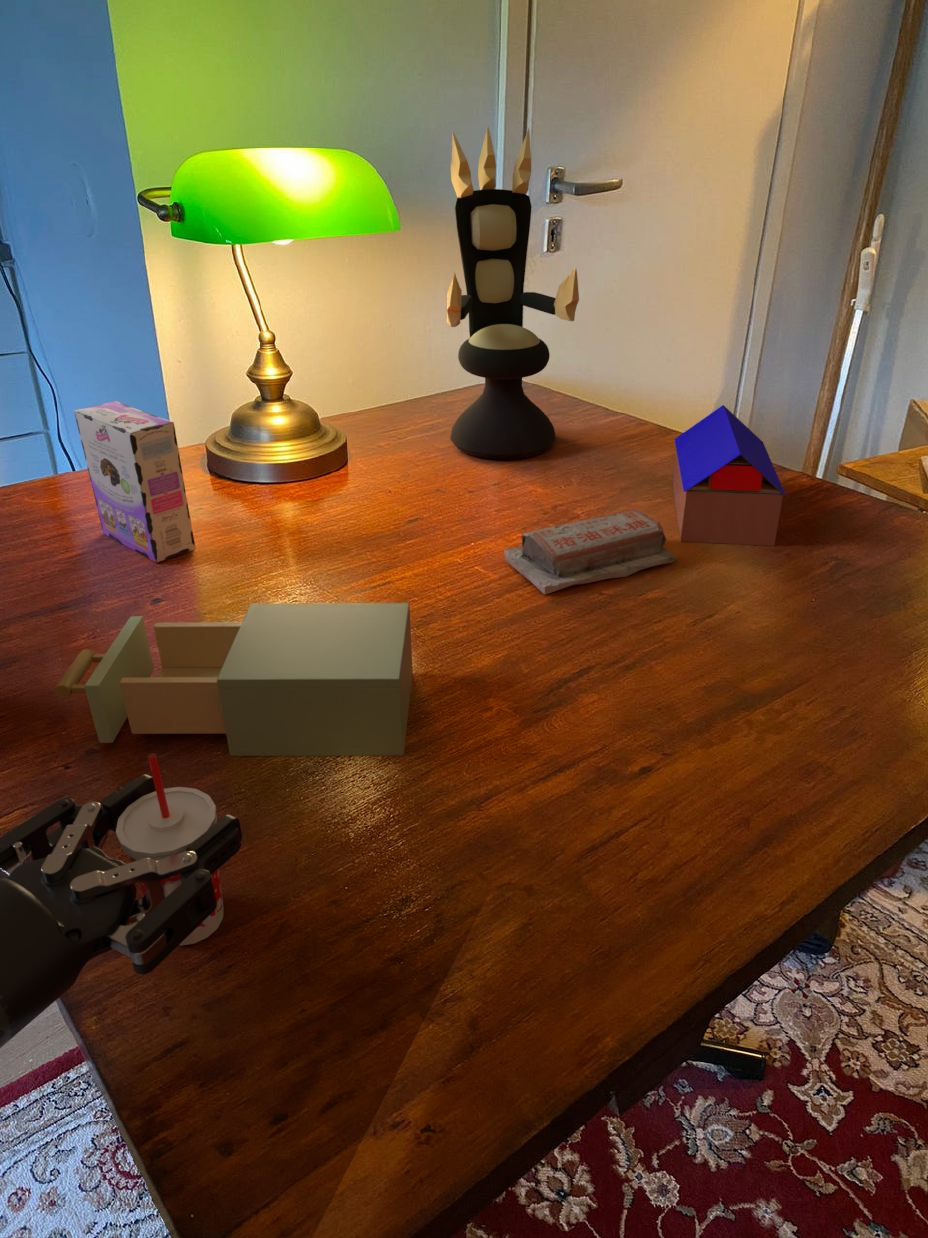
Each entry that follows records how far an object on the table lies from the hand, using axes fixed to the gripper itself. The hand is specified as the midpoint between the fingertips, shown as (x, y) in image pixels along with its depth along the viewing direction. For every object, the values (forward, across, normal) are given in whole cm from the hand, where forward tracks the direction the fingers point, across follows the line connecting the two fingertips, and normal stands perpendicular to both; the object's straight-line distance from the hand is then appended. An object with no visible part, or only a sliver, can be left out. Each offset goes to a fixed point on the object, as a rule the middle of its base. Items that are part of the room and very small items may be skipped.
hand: (193, 805), depth 59 cm
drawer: (+14, +19, +7) cm, 25 cm away
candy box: (+39, +50, +9) cm, 64 cm away
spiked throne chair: (+95, +31, +9) cm, 100 cm away
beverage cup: (-2, 0, +9) cm, 9 cm away
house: (+84, -9, +9) cm, 85 cm away
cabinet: (+22, +7, +8) cm, 24 cm away
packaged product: (+61, 0, +9) cm, 62 cm away
